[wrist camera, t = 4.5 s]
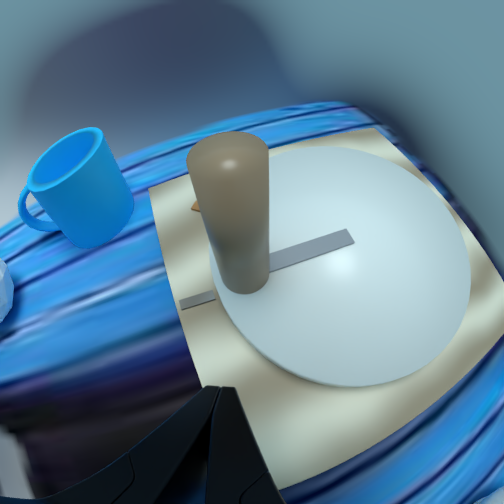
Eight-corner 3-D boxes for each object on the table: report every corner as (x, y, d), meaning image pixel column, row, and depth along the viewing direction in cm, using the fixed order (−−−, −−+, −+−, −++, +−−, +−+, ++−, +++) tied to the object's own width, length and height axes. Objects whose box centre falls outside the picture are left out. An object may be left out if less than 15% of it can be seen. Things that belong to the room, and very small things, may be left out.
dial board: (510, 318, 17) (521, 311, 15) (252, 492, 12) (251, 499, 11) (371, 137, 30) (374, 126, 28) (153, 199, 26) (147, 186, 24)
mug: (132, 176, 28) (106, 116, 21) (137, 231, 24) (99, 164, 17) (47, 214, 26) (12, 167, 19) (39, 271, 22) (-10, 224, 15)
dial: (377, 145, 26) (398, 58, 17) (494, 306, 16) (576, 234, 7) (188, 190, 23) (157, 81, 15) (270, 439, 13) (274, 488, 4)
